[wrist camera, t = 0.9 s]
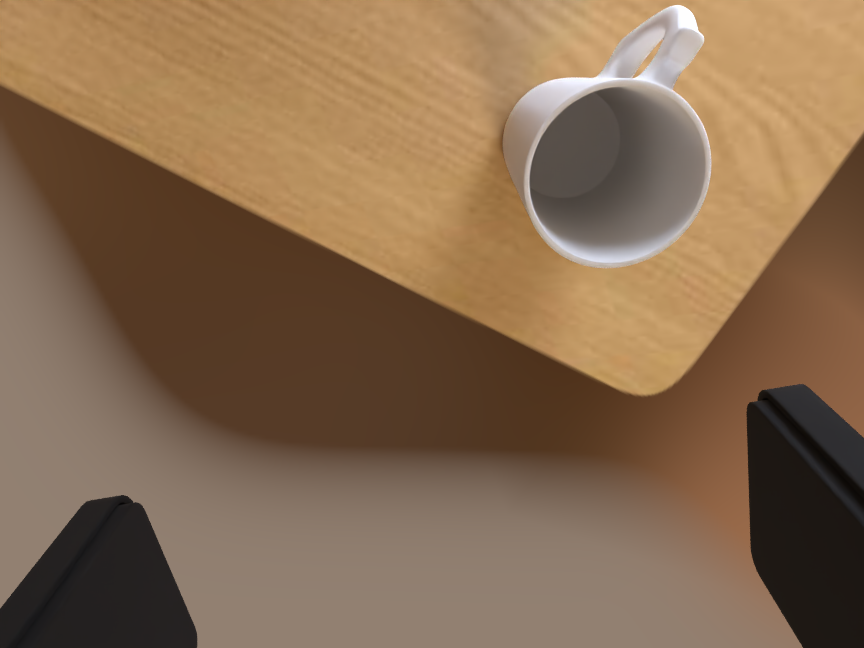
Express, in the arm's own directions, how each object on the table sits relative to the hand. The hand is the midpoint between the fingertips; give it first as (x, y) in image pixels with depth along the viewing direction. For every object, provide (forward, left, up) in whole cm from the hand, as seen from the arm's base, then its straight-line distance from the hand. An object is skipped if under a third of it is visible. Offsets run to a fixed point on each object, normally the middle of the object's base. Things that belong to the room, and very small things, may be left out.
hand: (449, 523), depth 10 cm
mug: (-8, +3, -28) cm, 29 cm away
